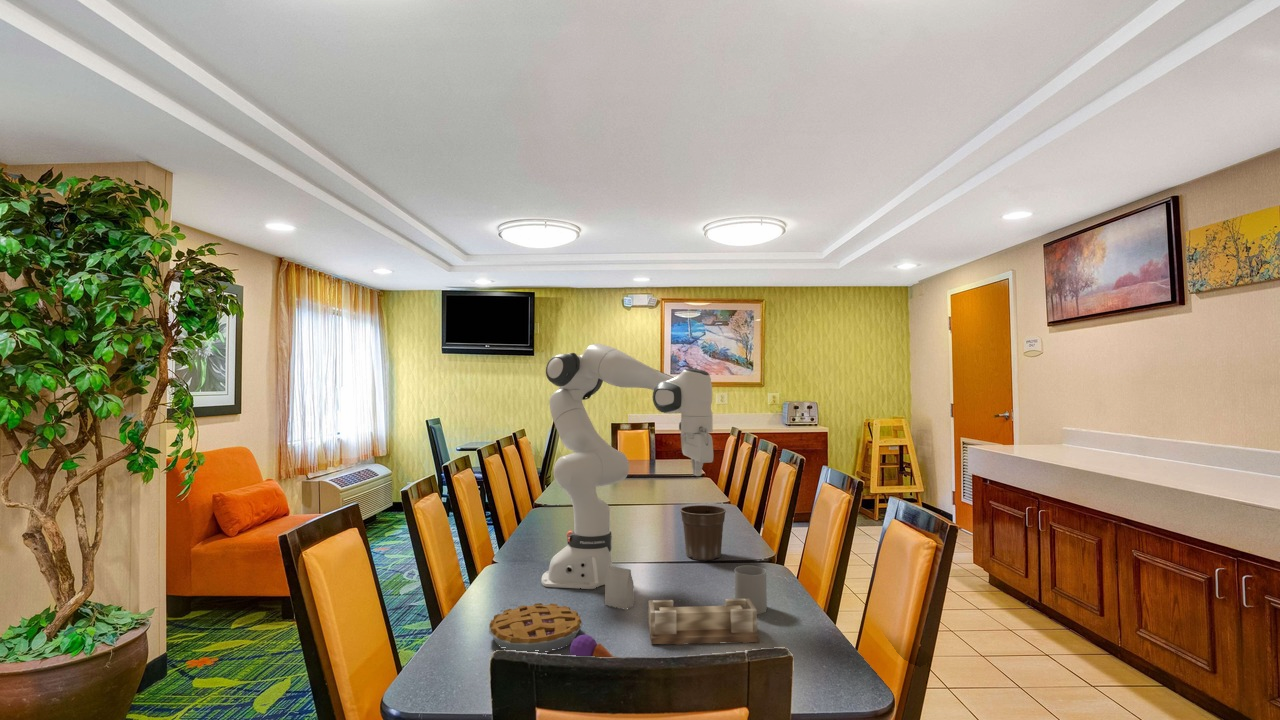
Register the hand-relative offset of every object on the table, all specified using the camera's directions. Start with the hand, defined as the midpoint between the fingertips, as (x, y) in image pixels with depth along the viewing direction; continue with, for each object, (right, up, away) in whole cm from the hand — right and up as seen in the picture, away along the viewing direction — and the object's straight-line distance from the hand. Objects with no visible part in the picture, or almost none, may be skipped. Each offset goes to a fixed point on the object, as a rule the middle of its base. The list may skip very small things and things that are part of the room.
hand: (697, 475), depth 166 cm
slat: (-1, -32, -24) cm, 40 cm away
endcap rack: (-1, -33, -25) cm, 41 cm away
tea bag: (-22, -34, -7) cm, 41 cm away
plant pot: (+6, -36, +40) cm, 54 cm away
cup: (+13, -34, -9) cm, 38 cm away
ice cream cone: (-22, -33, -43) cm, 58 cm away
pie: (-41, -34, -26) cm, 59 cm away
